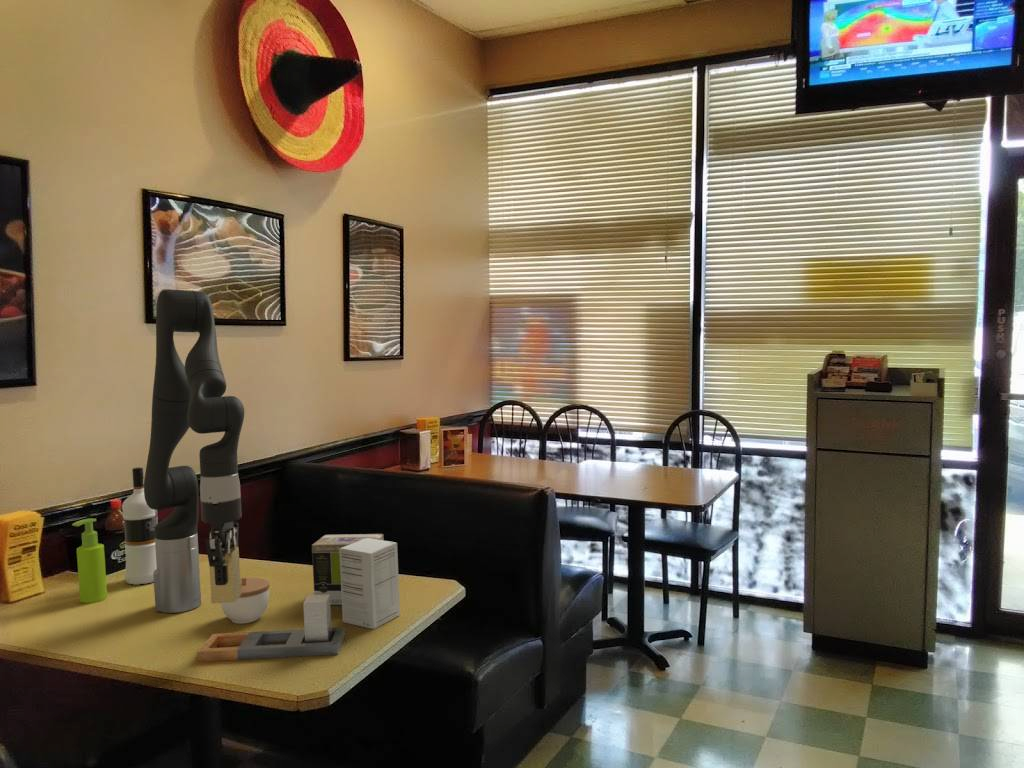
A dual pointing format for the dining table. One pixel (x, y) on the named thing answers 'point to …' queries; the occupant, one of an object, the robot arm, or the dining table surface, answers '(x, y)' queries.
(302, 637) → the grey flat frame
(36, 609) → the dining table surface
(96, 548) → the soap dispenser
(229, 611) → the lidded jar
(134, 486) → the vodka
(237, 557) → the beige rectangular block
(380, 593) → the supplement box
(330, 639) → the gray square beam
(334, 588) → the tea box
